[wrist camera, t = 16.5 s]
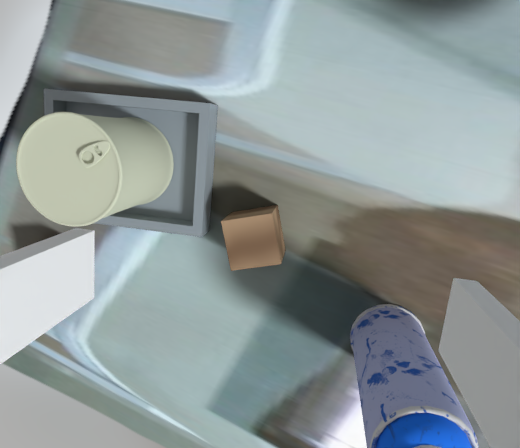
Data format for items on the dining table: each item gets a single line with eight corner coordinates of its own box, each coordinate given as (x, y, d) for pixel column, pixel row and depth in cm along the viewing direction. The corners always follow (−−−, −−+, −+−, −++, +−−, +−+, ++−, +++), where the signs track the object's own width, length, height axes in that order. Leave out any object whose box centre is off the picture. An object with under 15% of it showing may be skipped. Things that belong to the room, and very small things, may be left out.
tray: (63, 211, 47) (46, 216, 44) (61, 91, 44) (43, 88, 41) (209, 230, 45) (201, 237, 42) (217, 105, 42) (210, 103, 39)
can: (190, 177, 43) (141, 193, 32) (122, 219, 46) (53, 248, 34) (143, 99, 42) (75, 86, 31) (76, 146, 45) (-11, 150, 33)
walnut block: (232, 212, 44) (220, 221, 40) (277, 204, 44) (272, 213, 39) (240, 256, 45) (231, 270, 41) (285, 250, 44) (281, 264, 40)
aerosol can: (375, 382, 46) (413, 561, 27) (335, 326, 45) (345, 468, 26) (439, 349, 44) (530, 516, 25) (399, 290, 43) (460, 414, 24)
